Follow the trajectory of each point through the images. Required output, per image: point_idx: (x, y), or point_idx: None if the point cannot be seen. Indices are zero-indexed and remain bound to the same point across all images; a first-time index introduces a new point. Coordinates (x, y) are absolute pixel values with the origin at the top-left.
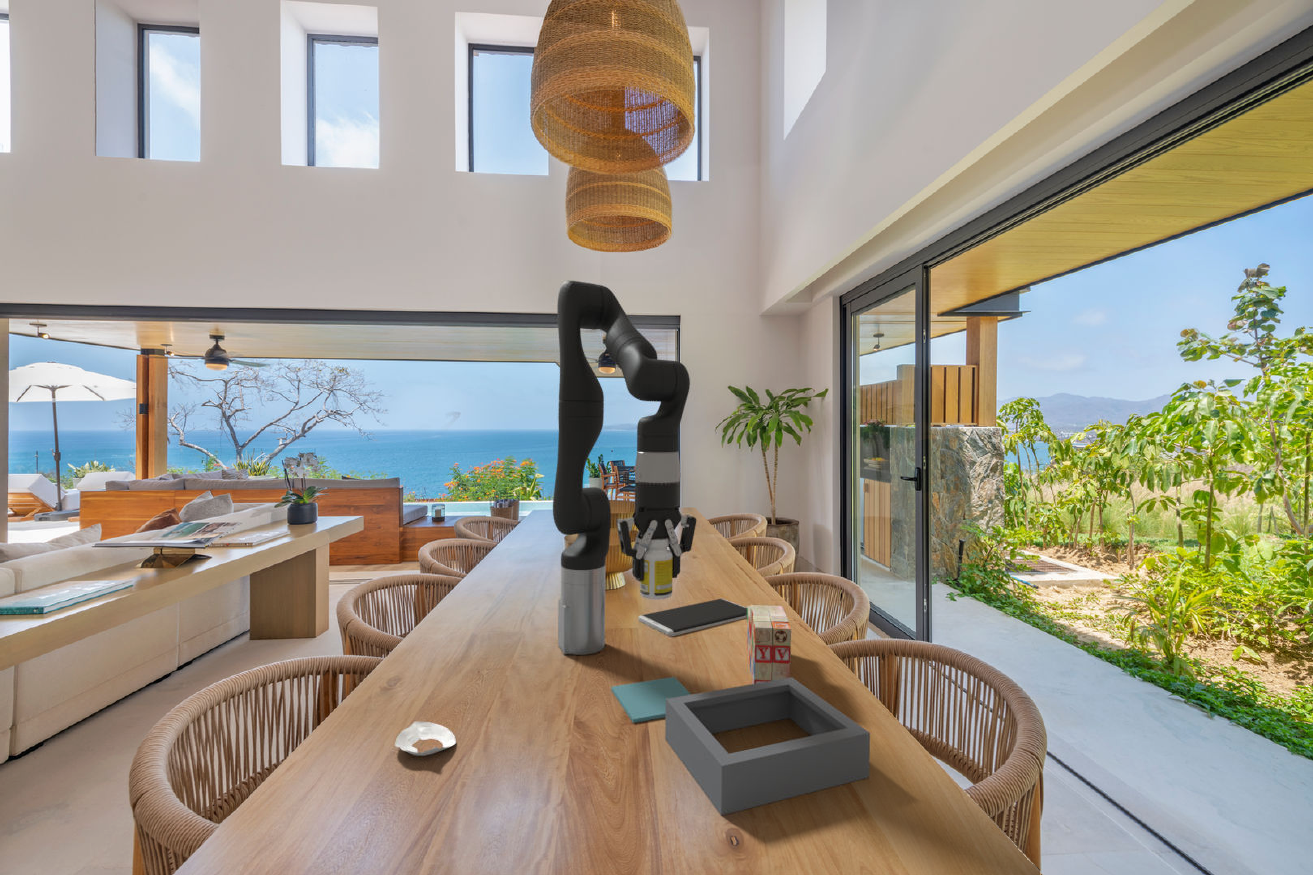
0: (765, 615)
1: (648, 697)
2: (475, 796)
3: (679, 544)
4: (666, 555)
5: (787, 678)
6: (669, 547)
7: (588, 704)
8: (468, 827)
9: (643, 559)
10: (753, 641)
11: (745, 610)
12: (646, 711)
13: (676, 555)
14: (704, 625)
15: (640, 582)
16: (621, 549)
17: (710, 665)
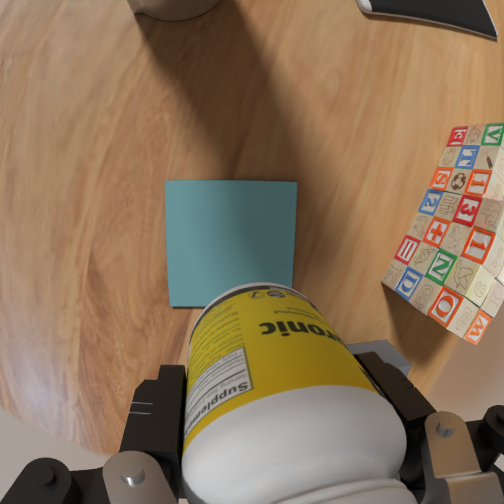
0: (493, 274)
1: (217, 246)
2: (10, 365)
3: (480, 454)
4: None
5: (404, 366)
6: (425, 462)
7: (115, 221)
8: (17, 395)
9: (185, 497)
10: (437, 289)
11: (488, 25)
12: (197, 291)
13: (396, 475)
14: (427, 19)
15: (189, 357)
16: (25, 480)
17: (380, 153)
